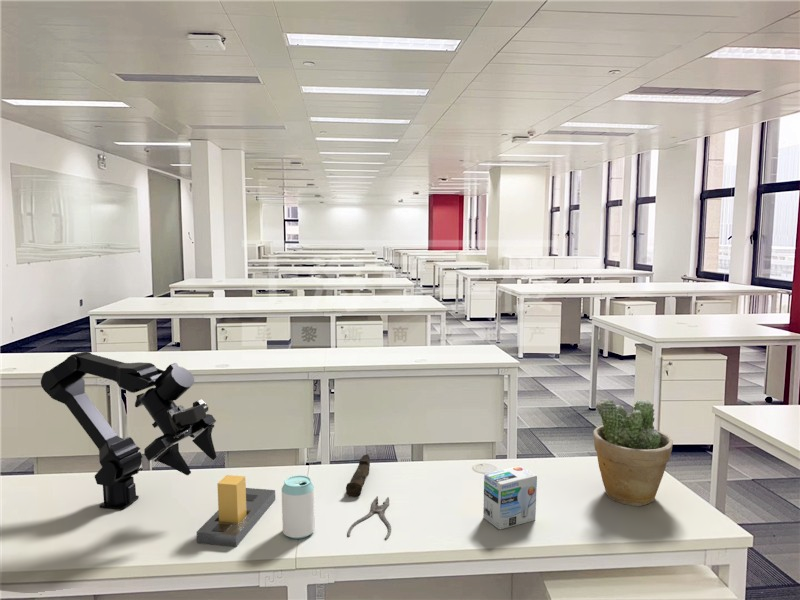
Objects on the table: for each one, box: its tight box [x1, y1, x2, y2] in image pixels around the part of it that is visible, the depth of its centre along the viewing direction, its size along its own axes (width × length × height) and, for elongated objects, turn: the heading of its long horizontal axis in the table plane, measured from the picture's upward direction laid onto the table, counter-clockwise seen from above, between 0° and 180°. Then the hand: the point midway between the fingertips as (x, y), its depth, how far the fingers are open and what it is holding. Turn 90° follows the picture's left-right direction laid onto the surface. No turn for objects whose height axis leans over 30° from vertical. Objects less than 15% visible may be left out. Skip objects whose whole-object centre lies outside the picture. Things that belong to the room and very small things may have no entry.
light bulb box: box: [482, 465, 538, 530], centre depth 137 cm, size 11×7×11 cm, turn 117°
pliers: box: [346, 496, 392, 541], centre depth 138 cm, size 10×1×20 cm
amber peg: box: [217, 474, 247, 523], centre depth 133 cm, size 4×4×11 cm
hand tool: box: [345, 454, 371, 498], centre depth 157 cm, size 19×4×5 cm, turn 170°
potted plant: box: [592, 398, 674, 507], centre depth 147 cm, size 18×19×25 cm
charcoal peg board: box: [196, 487, 276, 548], centre depth 137 cm, size 9×22×3 cm, turn 170°
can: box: [281, 474, 316, 540], centre depth 131 cm, size 7×7×12 cm
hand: (202, 466), depth 136 cm, fingers open, 9 cm apart
